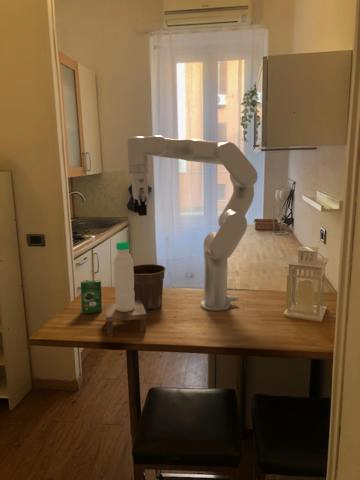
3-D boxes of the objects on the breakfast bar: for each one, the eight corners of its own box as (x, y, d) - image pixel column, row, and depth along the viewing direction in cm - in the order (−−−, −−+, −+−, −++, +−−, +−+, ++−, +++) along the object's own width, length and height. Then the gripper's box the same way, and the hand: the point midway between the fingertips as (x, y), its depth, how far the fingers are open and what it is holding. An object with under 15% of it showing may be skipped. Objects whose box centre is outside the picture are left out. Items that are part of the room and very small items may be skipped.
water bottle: (117, 305, 144) (114, 240, 139) (136, 305, 144) (133, 240, 139) (114, 312, 137) (111, 244, 132) (133, 312, 137) (131, 244, 132)
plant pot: (121, 310, 158) (120, 272, 155) (137, 297, 173) (136, 262, 170) (158, 314, 153) (157, 275, 150) (171, 300, 168) (170, 265, 165)
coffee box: (101, 309, 159) (100, 279, 156) (102, 311, 156) (101, 281, 154) (81, 312, 156) (79, 281, 154) (82, 314, 153) (80, 283, 151)
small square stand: (141, 317, 150) (141, 300, 149) (146, 332, 137) (146, 313, 136) (105, 320, 147) (104, 303, 146) (107, 336, 134) (106, 317, 132)
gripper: (152, 169, 140) (154, 216, 143) (143, 169, 156) (145, 210, 159) (132, 170, 138) (134, 217, 141) (125, 169, 154) (127, 211, 157)
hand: (140, 213), depth 150 cm, fingers open, 9 cm apart
